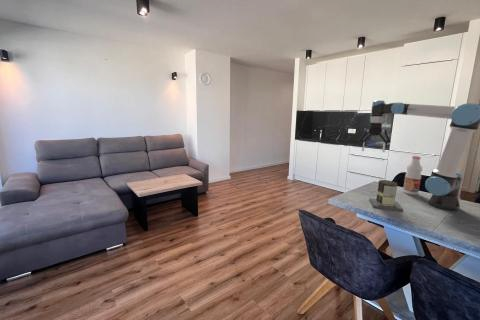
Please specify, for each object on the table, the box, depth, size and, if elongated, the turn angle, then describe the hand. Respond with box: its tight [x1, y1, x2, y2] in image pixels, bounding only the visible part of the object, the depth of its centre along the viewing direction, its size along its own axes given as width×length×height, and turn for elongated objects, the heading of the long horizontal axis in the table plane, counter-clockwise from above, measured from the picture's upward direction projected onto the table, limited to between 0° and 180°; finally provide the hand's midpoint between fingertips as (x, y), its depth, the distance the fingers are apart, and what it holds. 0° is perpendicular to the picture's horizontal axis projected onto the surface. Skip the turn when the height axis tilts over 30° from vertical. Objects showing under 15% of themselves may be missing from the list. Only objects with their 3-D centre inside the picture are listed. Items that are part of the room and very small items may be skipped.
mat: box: [369, 197, 404, 212], centre depth 150 cm, size 16×14×2 cm
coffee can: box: [375, 179, 399, 206], centre depth 148 cm, size 10×10×14 cm
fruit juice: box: [402, 155, 423, 196], centre depth 173 cm, size 9×9×28 cm
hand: (372, 151), depth 172 cm, fingers open, 13 cm apart
